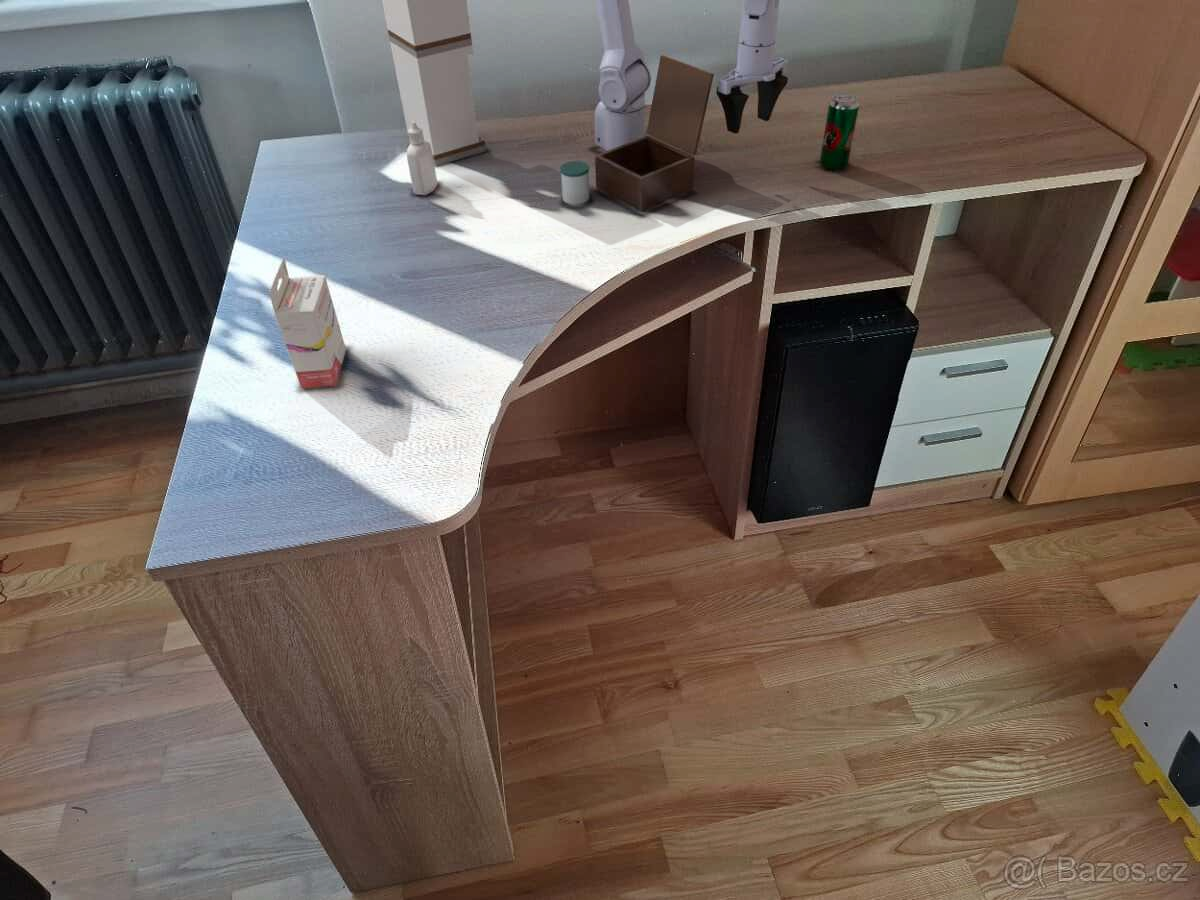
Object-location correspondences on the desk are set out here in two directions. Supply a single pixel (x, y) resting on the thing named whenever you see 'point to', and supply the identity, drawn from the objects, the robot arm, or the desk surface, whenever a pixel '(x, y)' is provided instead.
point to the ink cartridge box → (308, 327)
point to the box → (644, 173)
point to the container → (575, 182)
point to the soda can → (839, 131)
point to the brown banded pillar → (435, 73)
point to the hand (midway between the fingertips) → (748, 125)
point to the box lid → (679, 104)
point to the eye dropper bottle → (420, 162)
